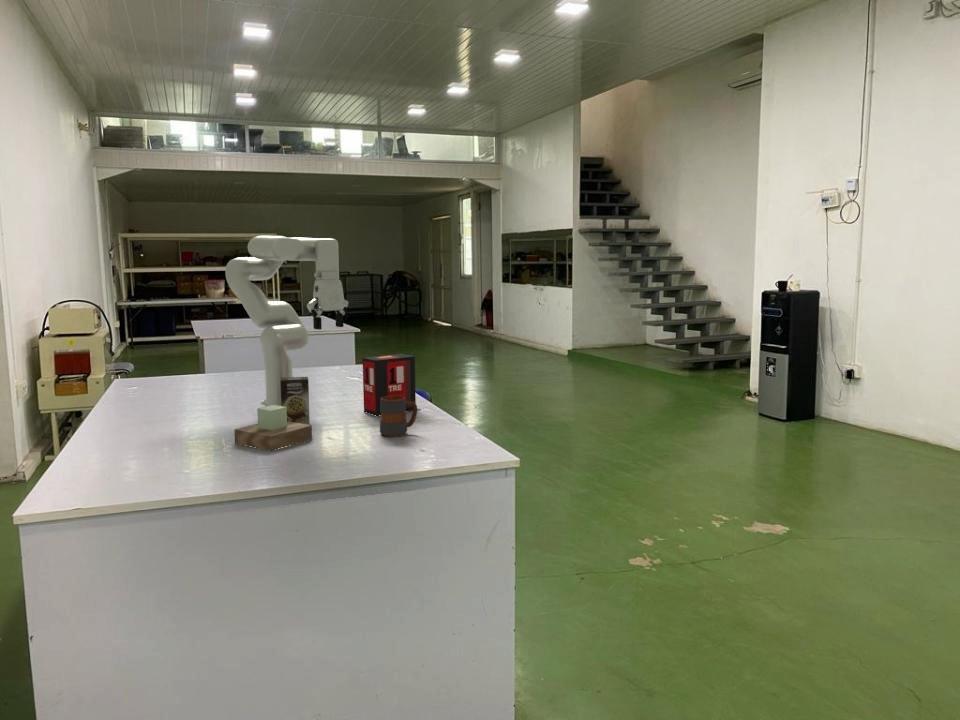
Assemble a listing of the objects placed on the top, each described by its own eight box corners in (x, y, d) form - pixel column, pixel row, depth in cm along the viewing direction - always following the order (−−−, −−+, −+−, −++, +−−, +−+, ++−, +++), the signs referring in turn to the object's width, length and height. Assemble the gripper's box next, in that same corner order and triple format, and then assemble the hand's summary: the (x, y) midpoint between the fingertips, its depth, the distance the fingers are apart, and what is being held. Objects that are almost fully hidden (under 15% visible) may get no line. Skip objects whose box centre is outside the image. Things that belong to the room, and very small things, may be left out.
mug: (420, 435, 221) (419, 399, 219) (381, 438, 218) (380, 401, 216) (415, 429, 229) (414, 394, 227) (378, 431, 226) (377, 396, 224)
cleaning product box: (402, 406, 265) (401, 353, 262) (415, 410, 258) (414, 356, 255) (363, 412, 254) (362, 357, 251) (376, 416, 248) (375, 360, 245)
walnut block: (235, 445, 212) (234, 429, 211) (276, 434, 225) (275, 419, 224) (271, 453, 203) (270, 436, 202) (312, 441, 216) (311, 425, 216)
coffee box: (281, 428, 230) (279, 380, 228) (281, 424, 236) (279, 377, 234) (310, 427, 233) (308, 378, 230) (309, 422, 239) (307, 375, 236)
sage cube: (258, 427, 213) (257, 408, 212) (274, 423, 218) (273, 404, 217) (271, 430, 209) (270, 410, 209) (287, 426, 214) (286, 407, 214)
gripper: (314, 277, 223) (316, 330, 226) (354, 276, 237) (355, 326, 240) (299, 276, 227) (300, 329, 230) (339, 275, 241) (340, 325, 244)
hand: (328, 327), depth 235 cm, fingers open, 9 cm apart
